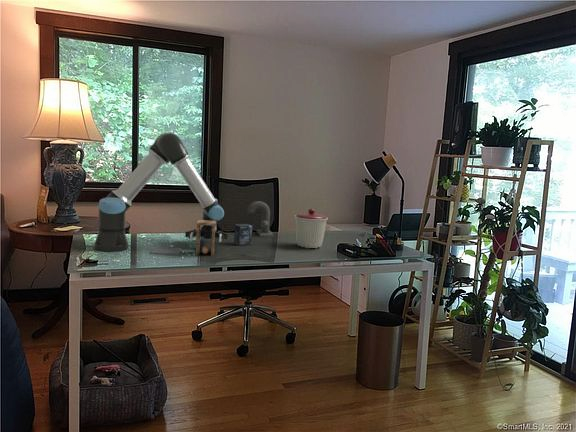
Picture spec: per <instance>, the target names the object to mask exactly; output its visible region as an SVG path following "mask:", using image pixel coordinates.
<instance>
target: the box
mask: <svg viewBox="0 0 576 432" xmlns="http://www.w3.org/2000/svg"><path fill="white" fill-rule="evenodd" d="M233 236H234V237H233V244H234V245H236V246H250V245H252V236H253V225H251V224H249V223H242V224H240V223H238V224H237V223H236V224H234V235H233Z"/></svg>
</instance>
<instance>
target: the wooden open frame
mask: <svg viewBox="0 0 576 432" xmlns="http://www.w3.org/2000/svg"><path fill="white" fill-rule="evenodd" d="M215 224H216V221H211V220H203V219H198V220H197V221H196V230H197V237H195V238H196V239H195V240H196V242H195V256H199V254H200V247H201V246H200V245H201V244H200V242H201V237H200V230H201V226H202V225H212V238H211V243H210V245H211V247H210V256H211V257H214V254H215V239H216V237H215Z"/></svg>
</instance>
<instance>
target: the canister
mask: <svg viewBox="0 0 576 432" xmlns="http://www.w3.org/2000/svg"><path fill="white" fill-rule="evenodd" d="M315 212H316V210H315V208H312V207H311V208H309V209H308V212H300V213H297V214H295V215H294V218H295V234H296V235H295V237H296V244H297V245H298V246H299V247H300V246H301V247H300V248H303V247H305V248H304V249H309V248H315V249H318V247H319V248H321V247H322V245H323V241H324V237H325V231H326V226H327V220H329V218H328V217H327V216H326V215H324V214H321V213H315Z"/></svg>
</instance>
